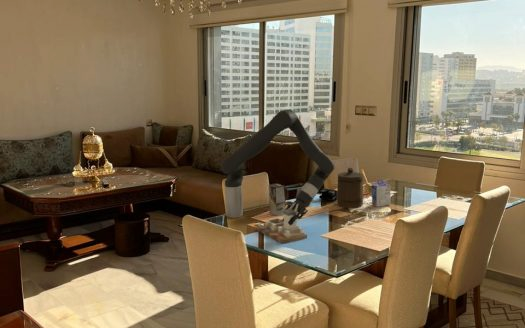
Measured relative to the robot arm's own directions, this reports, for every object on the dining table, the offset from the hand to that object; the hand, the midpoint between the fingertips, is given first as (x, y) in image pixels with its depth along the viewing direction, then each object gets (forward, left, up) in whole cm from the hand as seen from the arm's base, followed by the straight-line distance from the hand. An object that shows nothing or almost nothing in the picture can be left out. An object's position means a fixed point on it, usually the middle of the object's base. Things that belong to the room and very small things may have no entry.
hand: (286, 222), depth 230 cm
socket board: (-6, 0, -7) cm, 9 cm away
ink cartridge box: (-15, +75, -8) cm, 77 cm away
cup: (-40, +38, -8) cm, 56 cm away
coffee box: (-36, +17, -8) cm, 41 cm away
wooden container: (-26, +61, -8) cm, 67 cm away
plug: (0, +2, -4) cm, 5 cm away
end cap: (-41, +57, -8) cm, 71 cm away
